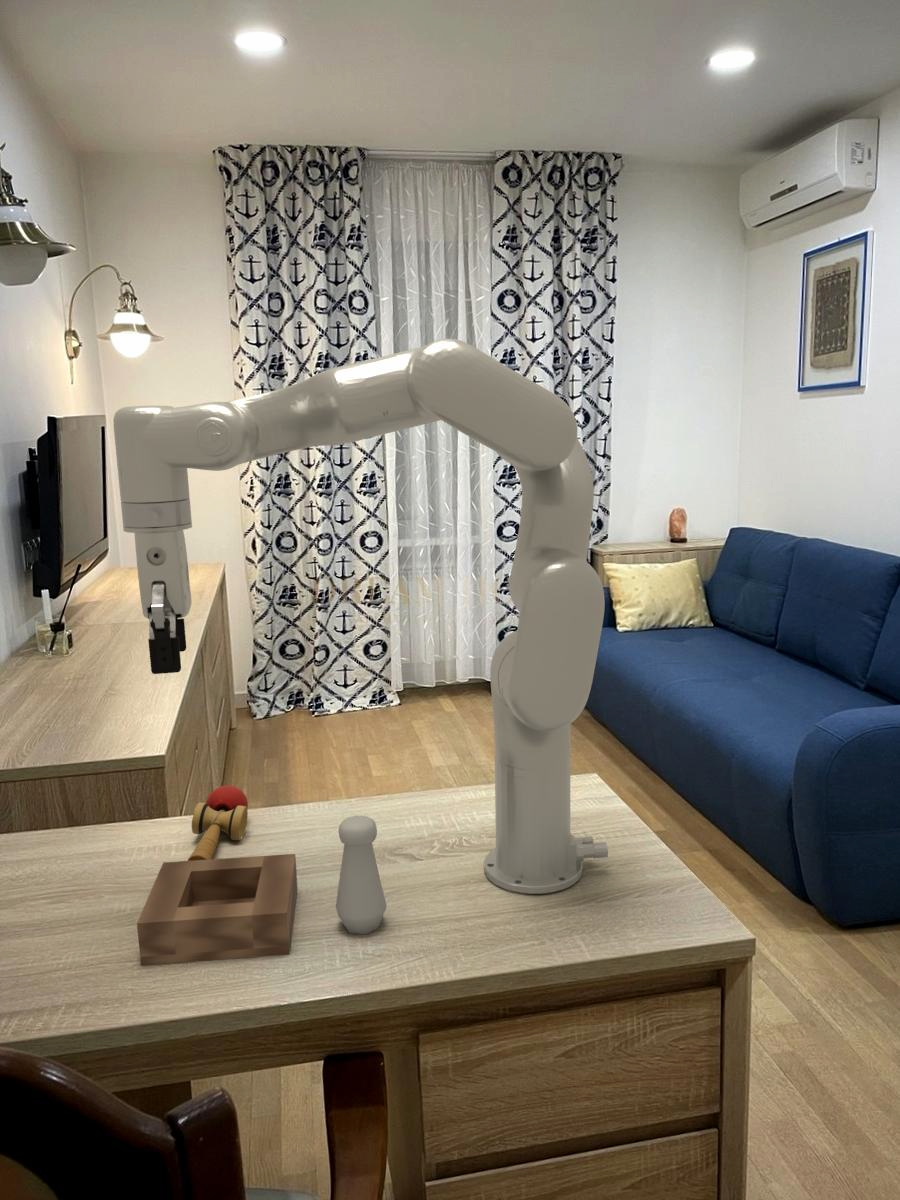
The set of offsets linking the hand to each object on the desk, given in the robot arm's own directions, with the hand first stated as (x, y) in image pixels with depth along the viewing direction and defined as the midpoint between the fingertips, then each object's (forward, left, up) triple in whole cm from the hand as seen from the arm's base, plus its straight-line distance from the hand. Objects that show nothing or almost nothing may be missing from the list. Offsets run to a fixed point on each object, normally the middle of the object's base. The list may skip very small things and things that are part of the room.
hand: (169, 661), depth 110 cm
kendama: (-1, -15, -31) cm, 34 cm away
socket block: (-5, +7, -30) cm, 32 cm away
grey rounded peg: (-21, +9, -31) cm, 38 cm away
